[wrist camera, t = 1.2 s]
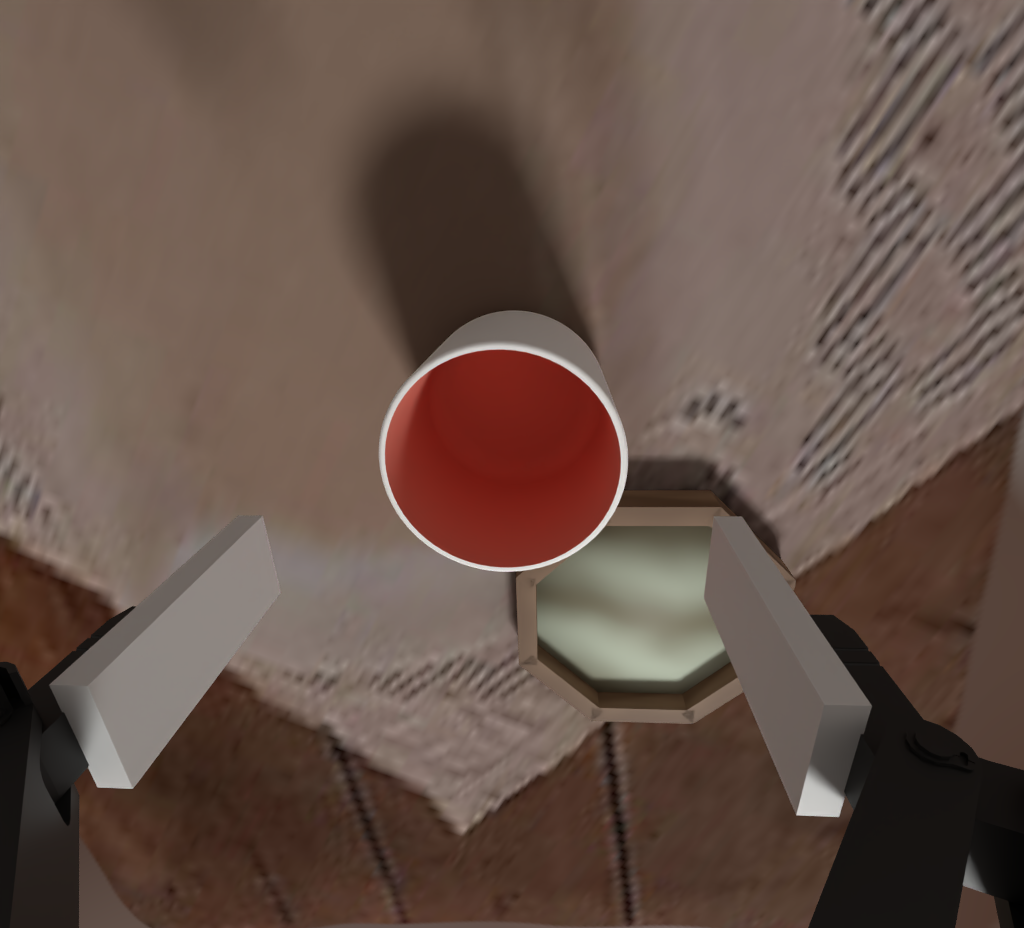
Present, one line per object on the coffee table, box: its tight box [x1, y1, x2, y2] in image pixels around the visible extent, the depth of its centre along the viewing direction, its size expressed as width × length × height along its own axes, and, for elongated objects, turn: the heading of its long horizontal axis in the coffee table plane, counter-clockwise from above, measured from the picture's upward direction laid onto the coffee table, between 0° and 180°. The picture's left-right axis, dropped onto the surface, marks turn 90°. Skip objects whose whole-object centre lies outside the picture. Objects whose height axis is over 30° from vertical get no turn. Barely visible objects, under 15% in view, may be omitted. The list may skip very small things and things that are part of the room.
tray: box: [516, 490, 796, 724], centre depth 35 cm, size 16×16×2 cm
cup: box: [379, 310, 628, 572], centre depth 26 cm, size 10×10×10 cm
